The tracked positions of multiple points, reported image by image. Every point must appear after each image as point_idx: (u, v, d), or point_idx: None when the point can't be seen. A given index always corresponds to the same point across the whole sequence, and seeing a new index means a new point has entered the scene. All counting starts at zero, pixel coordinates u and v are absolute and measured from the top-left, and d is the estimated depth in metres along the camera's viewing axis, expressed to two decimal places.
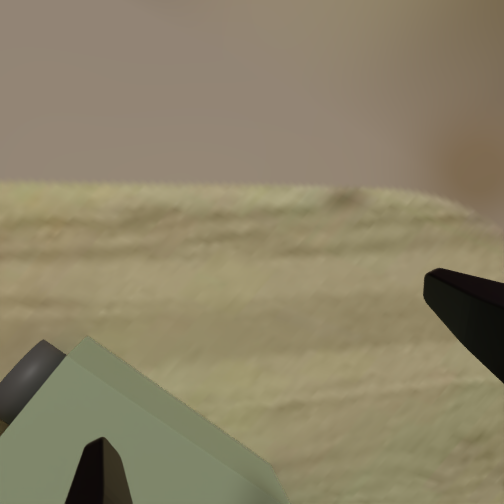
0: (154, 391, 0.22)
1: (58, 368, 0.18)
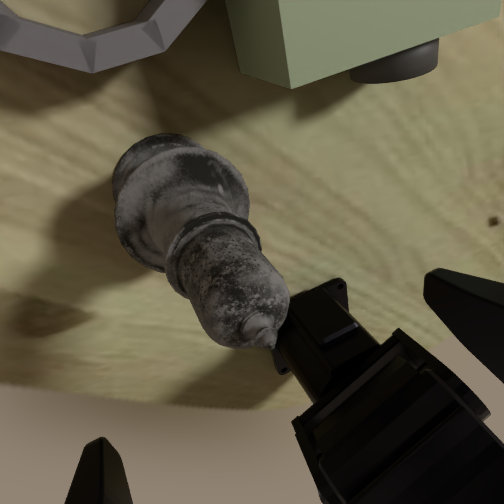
0: None
1: None
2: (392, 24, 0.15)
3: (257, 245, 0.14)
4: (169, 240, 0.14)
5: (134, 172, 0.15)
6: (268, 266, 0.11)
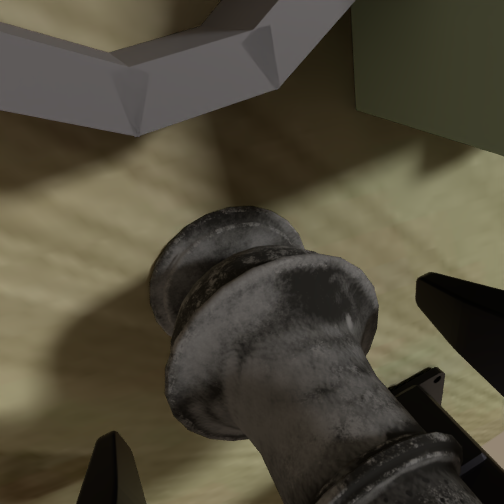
0: None
1: None
2: None
3: None
4: (289, 471, 0.07)
5: (206, 308, 0.08)
6: None
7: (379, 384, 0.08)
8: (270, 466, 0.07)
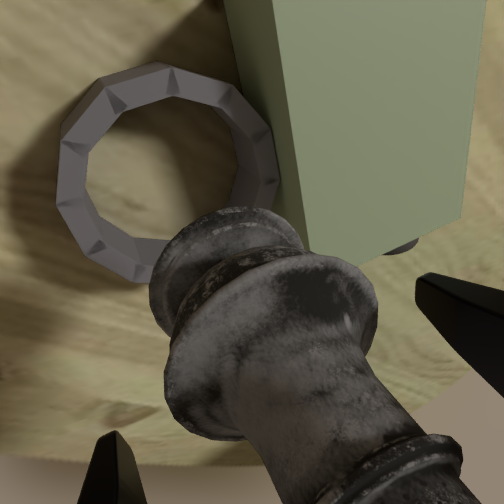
0: None
1: None
2: (384, 238, 0.21)
3: None
4: (287, 474, 0.07)
5: (201, 312, 0.08)
6: None
7: (377, 385, 0.08)
8: (269, 469, 0.07)
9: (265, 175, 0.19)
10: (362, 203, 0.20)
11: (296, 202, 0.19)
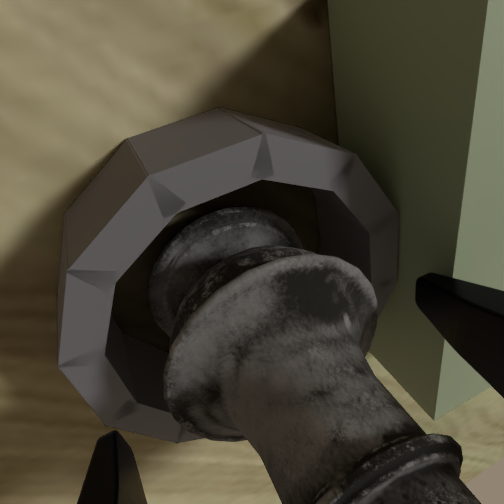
0: None
1: None
2: None
3: None
4: (287, 474, 0.07)
5: (201, 312, 0.08)
6: None
7: (377, 385, 0.08)
8: (269, 469, 0.07)
9: (379, 277, 0.12)
10: None
11: (428, 320, 0.12)
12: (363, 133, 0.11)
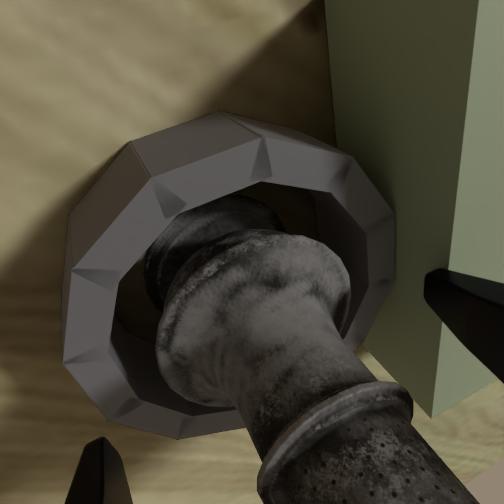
0: None
1: None
2: None
3: None
4: (339, 362, 0.08)
5: (329, 250, 0.10)
6: None
7: None
8: (304, 352, 0.08)
9: (376, 277, 0.13)
10: None
11: (424, 318, 0.12)
12: (360, 136, 0.12)
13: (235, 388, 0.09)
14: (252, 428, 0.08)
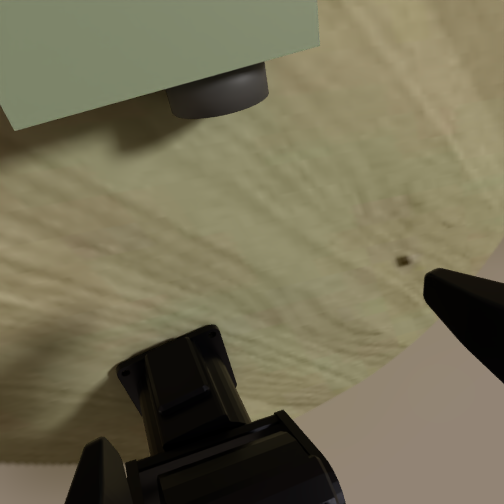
0: None
1: None
2: (156, 52, 0.11)
3: None
4: None
5: None
6: None
7: None
8: None
9: None
10: None
11: None
12: None
13: None
14: None
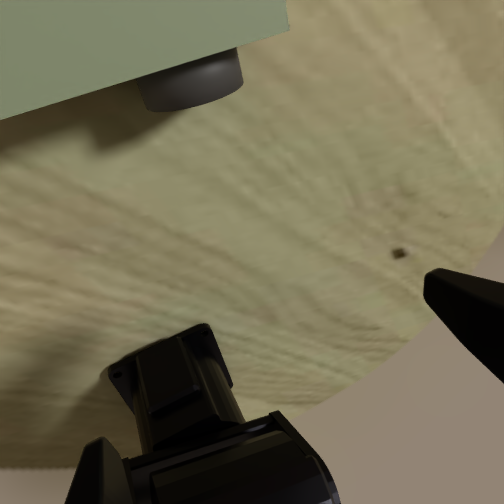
0: None
1: None
2: (117, 42, 0.11)
3: None
4: None
5: None
6: None
7: None
8: None
9: None
10: None
11: None
12: None
13: None
14: None
